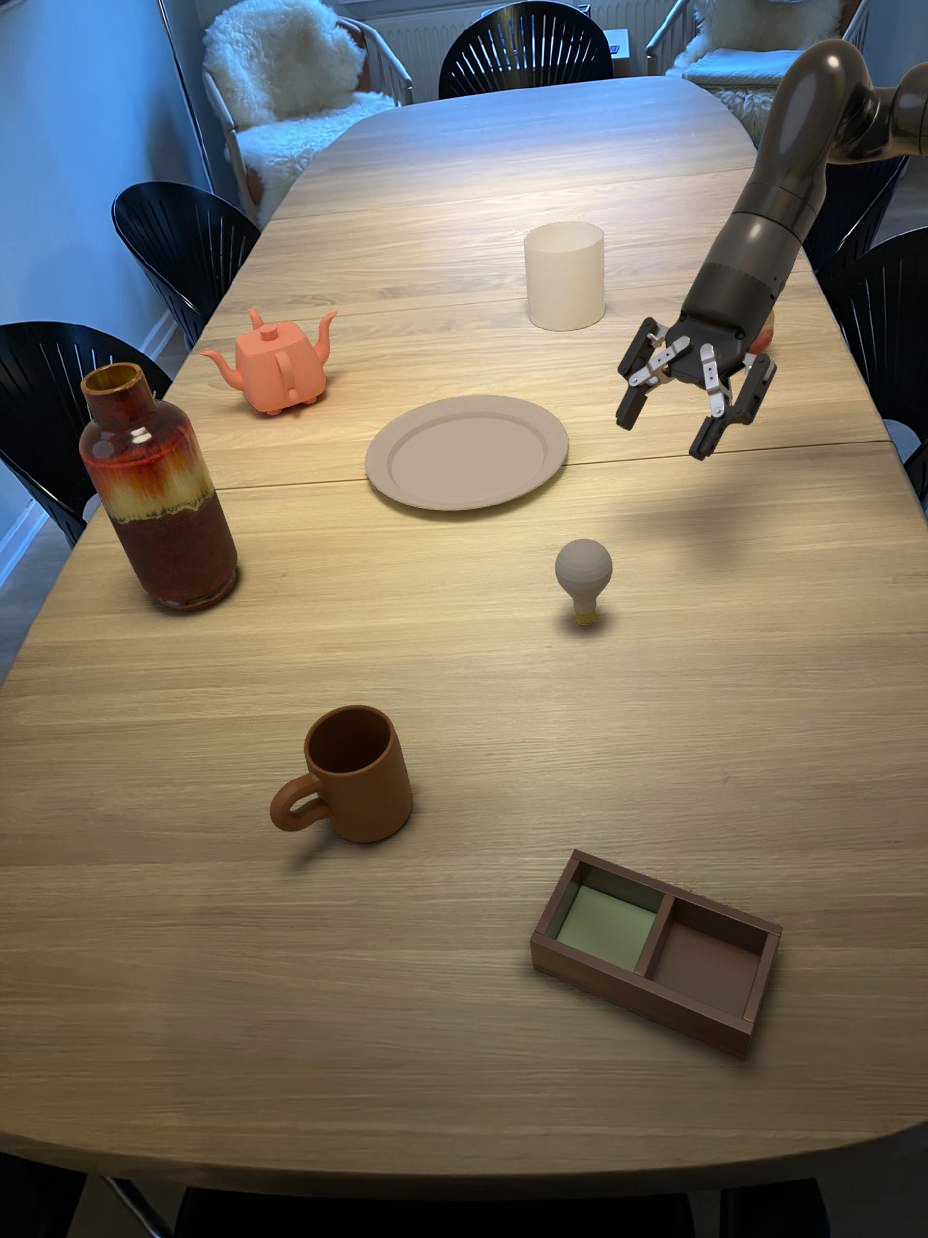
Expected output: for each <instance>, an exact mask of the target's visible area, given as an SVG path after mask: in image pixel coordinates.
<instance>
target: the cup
mask: <svg viewBox="0 0 928 1238" xmlns="http://www.w3.org/2000/svg"><path fill="white" fill-rule="evenodd" d="M523 252H524V267H525V281H526V282H525V283H526V295H527V311H528V318H529V321H530V322H531V323H532V324H533V325H535V326H536V327H537V328H540V329H544V330H548V331H554V332H555V331H556V332H568V331H570V332H571V331H576V330H580V329H584V328H587V327H590V326H592V325H594V324H595V323H597V322H598V321H600V320H601V319H602V318H603V317H604V315H605V311H606V308H605V307H606V303H605V302H606V301H605V297H606V295H605V287H606V286H605V232H604V230H603V229H602V228H601V227H600V226H599V225H596V224H595V223H591V222H588V221H580V220H563V221H554V222H550V223H546V224H542V225H539V226H538V227H535V228H534V229H531V230H530V231H529V232H528V233H527V234H526V235H525V236H524V238H523Z"/></svg>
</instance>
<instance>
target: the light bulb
mask: <svg viewBox="0 0 928 1238" xmlns="http://www.w3.org/2000/svg"><path fill="white" fill-rule="evenodd" d="M613 570H614V567H613V558H612V557H611V554H610V553H609V551H608V549H607V548H606V547H605V546H604V545H603V544H601V543H600V542H598V541H597V540H594V539H590V538H577V539H574V540H571V541H570V542H568V543H566V545H564V546H563V547H562V548H561V549H560V551H559V553H558V554H557V555H556V559H555V562H554V574H555V577H556V580H557V582H558V584H559V585H560V587H561V588H562V590H563V591H564V592H566V594H568V595H569V597H570V598H571V599H572V607H573V615H574V616H573V619H574V622H575V623H576V624H578V625H580V626H590V625H591V624H593V623H594V622H595V621H596V616H597V615H596V613H597V611H596V608H597V605H598V604H597V598H598V597H599V596H600V594H601V593H602V592H603V591H604V590H605V589H606V587H607V586H608V584H609V583H610V581H611V578H612V575H613V572H614V571H613Z"/></svg>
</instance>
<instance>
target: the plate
mask: <svg viewBox="0 0 928 1238" xmlns="http://www.w3.org/2000/svg"><path fill="white" fill-rule="evenodd" d="M569 443H570V441H569V435H568V432H567V430H566V427H565V426H564V424H563V423H562V421H561V420H560V419H559V418H558V417H557V416H556V415H555V414H553V412H551V411H549V410H548V409H546V408H545V407H542V406H541V405H539V404H536V403H534V402H532V401H529V400H526V399H522V398H519V397H512V396H507V395H500V394H499V395H498V394H470V395H469V394H468V395H459V396H453V397H448V398H443V399H437V400H435V401H432V402H427V403H425V404H423V405H420V406H417V407H414V408H413V409H410V410H408V411H406V412H404V413H402V414H401V415H399V416H396V417H395V418H394V419H393V420H391V421H389V422H388V423H387V424H386V425H385V426H383V427H382V428H381V429H380V430H379V431H378V432H377V433H376V434H375V436H374V437H373V439H372V440H371V441H370V443H369V445H368V447H367V449H366V453H365V456H364V468H365V473H366V475H367V477H368V480H369V481H370V482H371V484H372V485H373V486H374V487H375V488H376V489H377V490H378V491H379V492H380V493H382V494H383V495H385V496H386V497H387V498H390V499H392V500H394V501H396V502H399V503H400V504H401V503H402V504H404V505H407V506H411V507H415V508H420V509H425V510H432V511H467V510H476V509H481V508H488V507H491V506H495V505H500V504H503V503H506V502H509V501H513V500H514V499H517V498H519V497H522V496H525V494H528V493H530V492H532V491H534V490H535V489H537V488H538V487H540V486H541V485H543V484H545V483H546V482H547V481H549V480H550V478H552V477H553V476H554V475H555V474H556V473H557V471H559V469H560V468H561V466H562V465H563V464H564V462H565V460H566V458H567V455H568V451H569V447H570V445H569Z"/></svg>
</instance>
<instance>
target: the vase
mask: <svg viewBox="0 0 928 1238" xmlns="http://www.w3.org/2000/svg"><path fill="white" fill-rule="evenodd" d="M80 389H81V392H82V395H83V396H84V399H85V401H86V403H87V407H88V409H89V411H90V413H91V417H92V418H91V419H90V420H89V421H88V423H87V424H86V426H85V427H84V429H83V431H82V432H81V435H80V437H79V442H78V452H79V455H80V458H81V460H82V463H83V465H84V467H85V469H86V472H87V474H88V476H89V478H90V481H91V483H92V484H93V487H94V489H95V491H96V493H97V495H98V498H99V499H100V502H101V503H102V506H103V508H104V510H105V512H106V515H107V516H108V520H109V521H110V524H111V525H112V528H113V529H114V532H115V533H116V536H117V538H118V540H119V542H120V544H121V546H122V549H123V551H124V552H125V555H126V557H127V559H128V561H129V564H130V565H131V567H132V569H133V572H134V573H135V576H136V577H137V579H138V581H139V583H140V585H141V586H142V589H143V590H144V591H145V592H146V593H148V594H149V595H150V596H152V597H155V598H156V599H157V601H158V603H159V604H160V605H161V606H162V607H164V608H165V609H167V610H170V611H172V612H177V613H190V612H196V611H201V610H203V609H207V608H208V607H211V606H213V605H215V604H217V603H218V602H220V601H222V600H223V599H224V598H225V597H227V596H228V595H229V593H231V591H232V589H233V588H234V586H235V584H236V582H237V581H236V580H237V573H236V570H235V569H236V566H237V562H238V551H237V548H236V544H235V541H234V538H233V536H232V533H231V529H230V527H229V524H228V522H227V518H226V516H225V513H224V510H223V508H222V505H221V501H220V499H219V496H218V493H217V490H216V488H215V485H214V482H213V479H212V476H211V473H210V471H209V468H208V466H207V462H206V460H205V457H204V454H203V451H202V448H201V446H200V443H199V441H198V437H197V435H196V433H195V430H194V427H193V425H192V422H191V420H190V418H189V416H188V414H187V413H186V412H185V411H184V410H183V409H182V408H180V407H179V406H177V405H176V404H175V403H171V402H169V401H166V400H164V399H160V398H154V396H153V393H152V391H151V388H150V386H149V383H148V380H147V379H146V376H145V374H144V371H143V370H142V368H141V366H140V365H139V364H136V363H133V362H116V363H111V364H107V365H104V366H101V367H99V368H96V369H94V370H92V371H91V372H89V373H88V374H87V375H85V376H84V377H83V378H82V379H81V382H80Z"/></svg>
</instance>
